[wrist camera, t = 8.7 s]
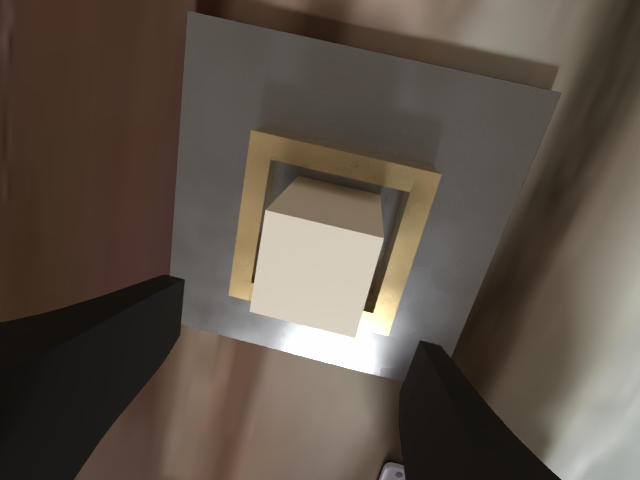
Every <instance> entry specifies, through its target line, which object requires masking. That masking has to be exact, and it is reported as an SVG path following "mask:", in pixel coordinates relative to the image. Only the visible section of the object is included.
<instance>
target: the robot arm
mask: <svg viewBox="0 0 640 480" xmlns="http://www.w3.org/2000/svg"><path fill="white" fill-rule="evenodd" d="M184 285H185V279H181V278H177V277H174V276H170V275H162V276H159V277H155V278H152V279H149V280H146V281H143V282H141V283H138V284H135V285H132V286H129V287H126V288H123V289H121V290H118V291H115V292H112V293H109V294H106V295H103V296H100V297H97V298H94V299H91V300H87V301H84V302H81V303H78V304H74V305H71V306H68V307H65V308H61V309H57V310H54V311H50V312H46V313H42V314H38V315H34V316H29V317H25V318H21V319H16V320H11V321H6V322H0V480H74V479H75V477H76V476H77V474H78V473H79V471H80V470H81V468H82V467H83V465H84V464H85V462H86V461H87V459H88V458H89V456H90V455H91V453H92V452H93V450H94V449H95V447H96V446H97V445H98V443H99V442H100V440H101V439H102V437H103V436H104V435H105V434H106V432H107V431H108V430H109V428H110V427H111V426H112V424H113V423H114V422H115V421H116V420H117V418H118V417H119V416H120V415H121V413H122V412H123V411H124V410H125V409H126V407H127V406H128V405H129V404H130V403H131V401H132V400H133V399H134V398H135V397H136V395H137V394H138V393H139V392H140V390H141V389H142V388H143V387H144V386H145V384H146V383H147V382H148V381H149V380H150V378H151V377H152V376H153V375H154V373H155V372H156V371H157V370H158V368H159V367H160V366H161V365H162V363H163V362H164V360H165V359H166V357H167V356H168V354H169V353H170V351H171V349H172V348H173V346H174V344H175V343H176V341H177V339H178V338H179V336H180V329H181V318H182V307H183V296H184ZM399 429H400V439H401V448H402V456H403V465H400V464H396V463H392V462H389V463H387V464H385V465H384V467H383V470H382V472H381V475H380V478H379V480H561V479H560V478H559V477H558V476H557V475H555V474H554V473H553V472H552V471H551V470H550V469H549V468H548V467H547V466H546V465H545V464H543V463H542V462H541V461H540V460H539V459H538V458H537V457H536V456H535V455H534V454H533V453H532V452H531V451H530V450H529V449H528V448H527V447H526V446H525V445H524V444H523V443H522V442H521V441H520V440H519V439H518V438H517V437H516V436H515V435H514V434H513V433H512V431H511V430H510V429H509V428H508V427H507V426H506V425H505V424H504V423H503V421H502V420H501V419H500V418H499V417H498V416H497V415H496V414H495V413H494V411H493V410H492V409H491V408H490V407H489V406H488V404H487V403H486V402H485V401H484V400H483V398H482V397H481V396H480V395H479V394H478V392H477V391H476V390H475V389H474V387H473V386H472V385H471V384H470V382H469V381H468V380H467V378H466V377H465V376H464V375H463V373H462V372H461V371H460V369H459V368H458V367H457V366H456V364H455V363H454V362H453V360H452V359H451V358H450V356H449V355H448V354H447V353H446V351H445V350H444V349H443V348H442V347H441V346H440V345H437V344H433V343H429V342H425V341H422V340H419V343H418V346H417V348H416V351H415V354H414V356H413V359H412V362H411V364H410V367H409V370H408V372H407V375H406V378H405V380H404V383H403V386H402V388H401V391H400V399H399Z"/></svg>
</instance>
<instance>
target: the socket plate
mask: <svg viewBox="0 0 640 480" xmlns="http://www.w3.org/2000/svg"><path fill="white" fill-rule="evenodd" d="M560 95H561V93H560V92H556V91H551V90H547V89H542V88H537V87H533V86H528V85H524V84H519V83H515V82H510V81H505V80H501V79H496V78H492V77H487V76H483V75H478V74H474V73H469V72H464V71H460V70H455V69H451V68H446V67H442V66H437V65H433V64H428V63H423V62H419V61H414V60H410V59H405V58H401V57H396V56H391V55H387V54H382V53H378V52H373V51H369V50H364V49H360V48H355V47H350V46H346V45H341V44H337V43H332V42H328V41H323V40H318V39H314V38H309V37H305V36H300V35H296V34H291V33H287V32H282V31H277V30H273V29H268V28H264V27H259V26H255V25H250V24H246V23H241V22H236V21H232V20H227V19H223V18H218V17H214V16H209V15H204V14H200V13H195V12H191V11H188V16H187V30H186V45H185V60H184V74H183V89H182V104H181V119H180V133H179V148H178V163H177V177H176V192H175V207H174V222H173V236H172V251H171V266H170V276H174V277H177V278H181V279H185V285H184V296H183V307H182V318H181V325H184V326H188V327H192V328H196V329H200V330H204V331H208V332H212V333H215V334H219V335H223V336H227V337H231V338H235V339H239V340H242V341H246V342H250V343H254V344H258V345H262V346H266V347H269V348H273V349H277V350H281V351H285V352H289V353H293V354H296V355H300V356H304V357H308V358H312V359H316V360H320V361H323V362H327V363H331V364H335V365H339V366H343V367H347V368H350V369H354V370H358V371H362V372H366V373H370V374H374V375H377V376H381V377H385V378H389V379H393V380H397V381H401V382H404V380H405V378H406V375H407V372H408V370H409V367H410V364H411V362H412V359H413V356H414V354H415V351H416V348H417V346H418V343H419V340H422V341H425V342H429V343H433V344H437V345H440V346H441V347H442V348H443V349H444V350H445V351H446V353H447V354H448V355H449V356H450V358H451V356H452V354H453V352H454V349H455V347H456V344H457V342H458V340H459V337H460V335H461V332H462V330H463V328H464V325H465V323H466V320H467V318H468V316H469V313H470V311H471V308H472V306H473V304H474V301H475V299H476V296H477V294H478V292H479V289H480V287H481V284H482V282H483V280H484V277H485V275H486V272H487V270H488V268H489V265H490V263H491V260H492V258H493V256H494V253H495V251H496V248H497V246H498V244H499V241H500V239H501V236H502V234H503V232H504V229H505V227H506V224H507V222H508V220H509V217H510V215H511V212H512V210H513V208H514V205H515V203H516V200H517V198H518V196H519V193H520V191H521V188H522V186H523V184H524V181H525V179H526V176H527V174H528V172H529V169H530V167H531V164H532V162H533V160H534V157H535V155H536V152H537V150H538V148H539V145H540V143H541V140H542V138H543V136H544V133H545V131H546V128H547V126H548V124H549V121H550V119H551V116H552V114H553V112H554V109H555V107H556V104H557V102H558V100H559V97H560ZM298 176H301V177H306V178H310V179H314V180H318V181H323V182H327V183H331V184H336V185H340V186H344V187H348V188H353V189H357V190H361V191H366V192H370V193H374V194H379V195H380V196H381V208H382V220H383V232H384V240H383V244H382V247H381V251H380V254H379V257H378V261H377V264H376V268H375V271H374V275H373V278H372V282H371V285H370V289H369V292H368V296H367V299H366V303H365V306H364V310H363V313H362V316H361V320H360V323H359V327H358V330H357V334H356V337H355V338H352V337H348V336H344V335H340V334H336V333H332V332H328V331H324V330H320V329H316V328H312V327H308V326H304V325H300V324H296V323H292V322H288V321H284V320H280V319H276V318H272V317H268V316H265V315H261V314H257V313H253V312H249V311H250V305H251V299H252V292H253V286H254V280H255V273H256V267H257V261H258V254H259V248H260V242H261V235H262V229H263V223H264V216H265V210H266V209H267V208H268V207H269V206H270V205H271V204H272V203H273V202H274V201H275V200H276V199H277V198H278V197H279V196H280V194H281V193H282V192H283V191H284V190H285V189H286V188H287V187H288V186H289V185H290V184H291V183H292V182H293V181H294V180H295V179H296V178H297V177H298Z"/></svg>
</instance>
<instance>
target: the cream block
mask: <svg viewBox="0 0 640 480" xmlns="http://www.w3.org/2000/svg"><path fill="white" fill-rule="evenodd" d="M383 240H384V232H383V220H382V208H381V196H380V195H379V194H374V193H370V192H366V191H361V190H357V189H353V188H348V187H344V186H340V185H336V184H331V183H327V182H323V181H318V180H314V179H310V178H306V177H301V176H298V177H297V178H296V179H295V180H294V181H293V182H292V183H291V184H290V185H289V186H288V187H287V188H286V189H285V190H284V191H283V192H282V193H281V194H280V196H279V197H278V198H277V199H276V200H275V201H274V202H273V203H272V204H271V205H270V206H269V207H268V208H267V209H266V210H265V216H264V223H263V229H262V235H261V242H260V248H259V254H258V261H257V267H256V273H255V280H254V286H253V292H252V299H251V305H250V311H249V312H253V313H257V314H261V315H265V316H268V317H272V318H276V319H280V320H284V321H288V322H292V323H296V324H300V325H304V326H308V327H312V328H316V329H320V330H324V331H328V332H332V333H336V334H340V335H344V336H348V337H352V338H355V337H356V334H357V330H358V327H359V323H360V320H361V316H362V313H363V310H364V306H365V303H366V299H367V296H368V292H369V289H370V285H371V282H372V278H373V275H374V271H375V268H376V264H377V261H378V257H379V254H380V251H381V247H382V244H383Z"/></svg>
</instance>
